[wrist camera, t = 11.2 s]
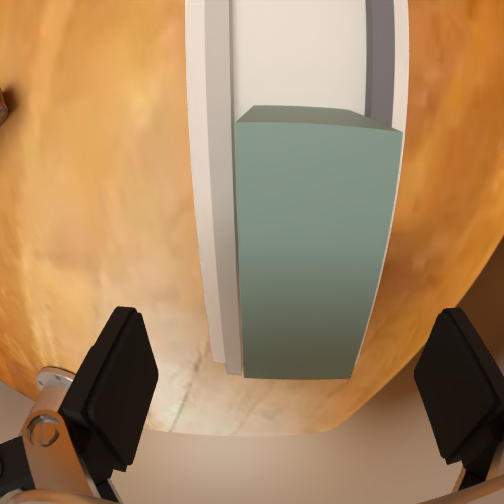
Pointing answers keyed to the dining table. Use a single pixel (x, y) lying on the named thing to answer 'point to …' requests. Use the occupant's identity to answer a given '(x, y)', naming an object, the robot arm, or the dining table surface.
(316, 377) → the tea box
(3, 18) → the dining table surface
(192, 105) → the white railed tray
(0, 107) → the tin
